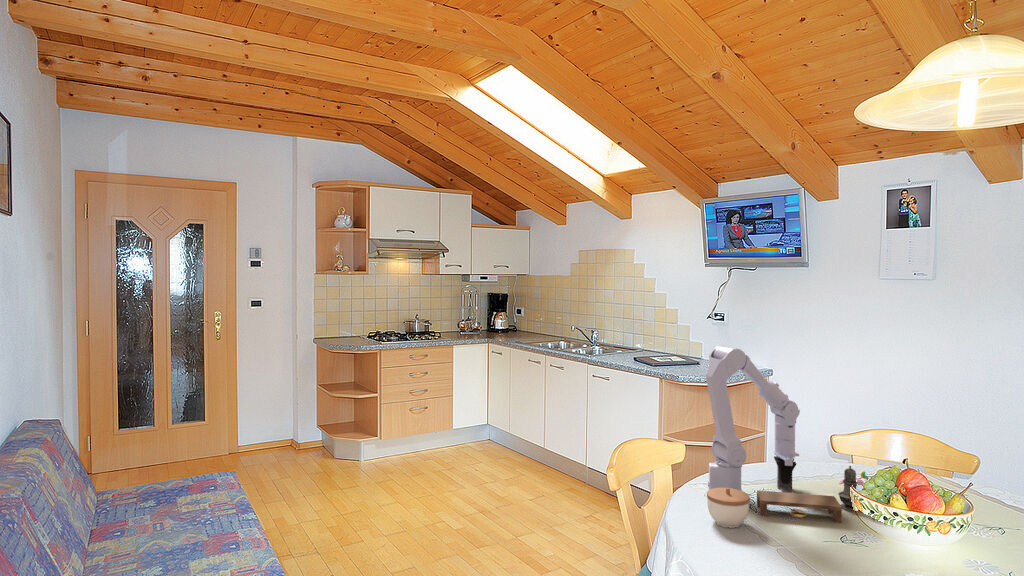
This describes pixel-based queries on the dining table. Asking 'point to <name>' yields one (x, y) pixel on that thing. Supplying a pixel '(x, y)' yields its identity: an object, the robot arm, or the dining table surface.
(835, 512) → the low shelf
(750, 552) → the dining table surface
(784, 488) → the scraper tool
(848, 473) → the salt shaker
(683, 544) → the dining table surface
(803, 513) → the brass token
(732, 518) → the lidded jar
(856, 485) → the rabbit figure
